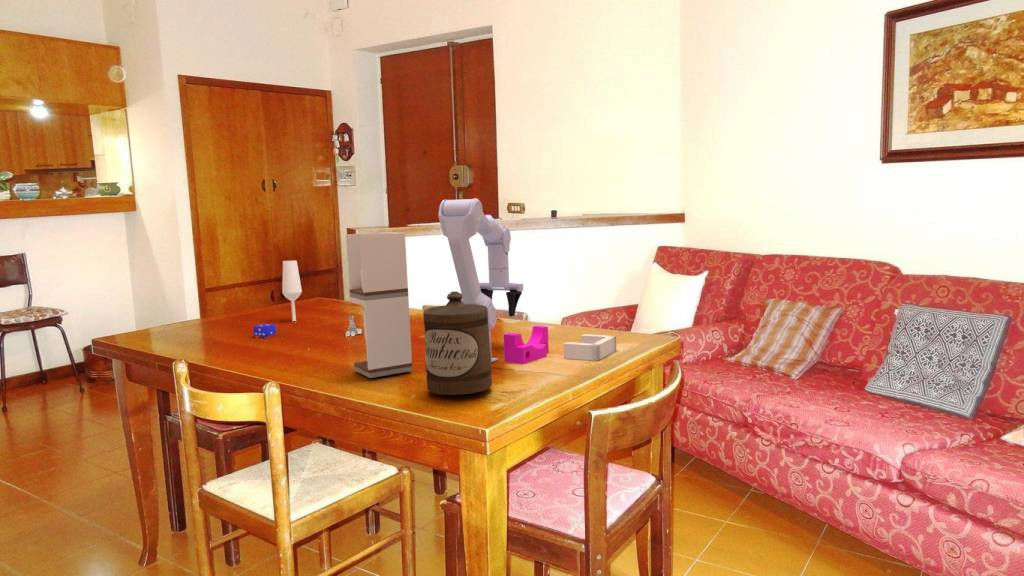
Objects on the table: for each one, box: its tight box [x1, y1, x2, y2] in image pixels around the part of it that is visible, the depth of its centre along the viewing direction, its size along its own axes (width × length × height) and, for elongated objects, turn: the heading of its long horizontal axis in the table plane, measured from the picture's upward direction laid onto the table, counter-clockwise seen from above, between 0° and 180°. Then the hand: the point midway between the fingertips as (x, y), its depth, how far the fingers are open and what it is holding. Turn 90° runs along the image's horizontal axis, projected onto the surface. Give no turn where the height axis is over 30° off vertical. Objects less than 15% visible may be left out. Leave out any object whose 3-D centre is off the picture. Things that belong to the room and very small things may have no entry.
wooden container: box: [422, 290, 493, 396], centre depth 160 cm, size 15×15×22 cm
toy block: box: [503, 324, 550, 365], centre depth 189 cm, size 15×6×8 cm, turn 142°
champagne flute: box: [281, 259, 303, 322], centre depth 251 cm, size 7×7×24 cm
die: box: [252, 323, 277, 337], centre depth 229 cm, size 5×5×5 cm
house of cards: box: [345, 315, 364, 338], centre depth 227 cm, size 9×9×8 cm
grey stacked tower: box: [345, 231, 413, 379], centre depth 178 cm, size 11×11×35 cm
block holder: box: [563, 333, 617, 362], centre depth 190 cm, size 14×10×4 cm
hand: (500, 315), depth 202 cm, fingers open, 7 cm apart
